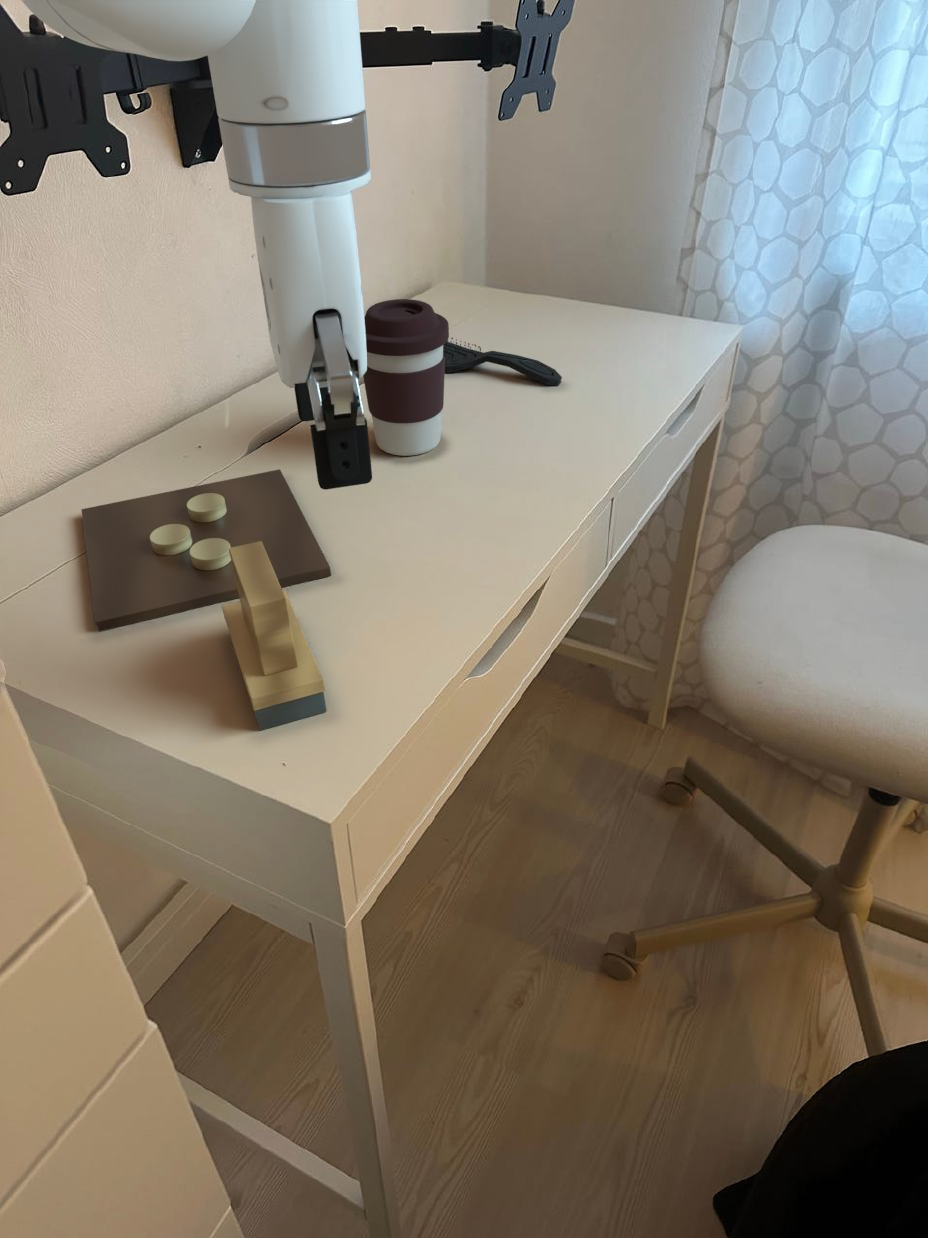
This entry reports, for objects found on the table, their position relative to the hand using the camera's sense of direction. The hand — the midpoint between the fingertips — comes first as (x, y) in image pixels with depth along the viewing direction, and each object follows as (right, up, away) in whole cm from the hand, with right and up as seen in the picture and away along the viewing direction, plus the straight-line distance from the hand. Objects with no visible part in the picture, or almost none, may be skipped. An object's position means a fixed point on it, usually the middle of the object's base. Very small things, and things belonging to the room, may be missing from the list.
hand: (333, 448), depth 57 cm
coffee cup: (+2, +9, +43) cm, 44 cm away
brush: (-6, -15, +12) cm, 21 cm away
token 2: (-17, -1, +30) cm, 34 cm away
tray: (-17, -4, +27) cm, 32 cm away
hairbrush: (+10, +22, +60) cm, 65 cm away
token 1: (-19, -4, +25) cm, 32 cm away
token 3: (-14, -6, +23) cm, 28 cm away
